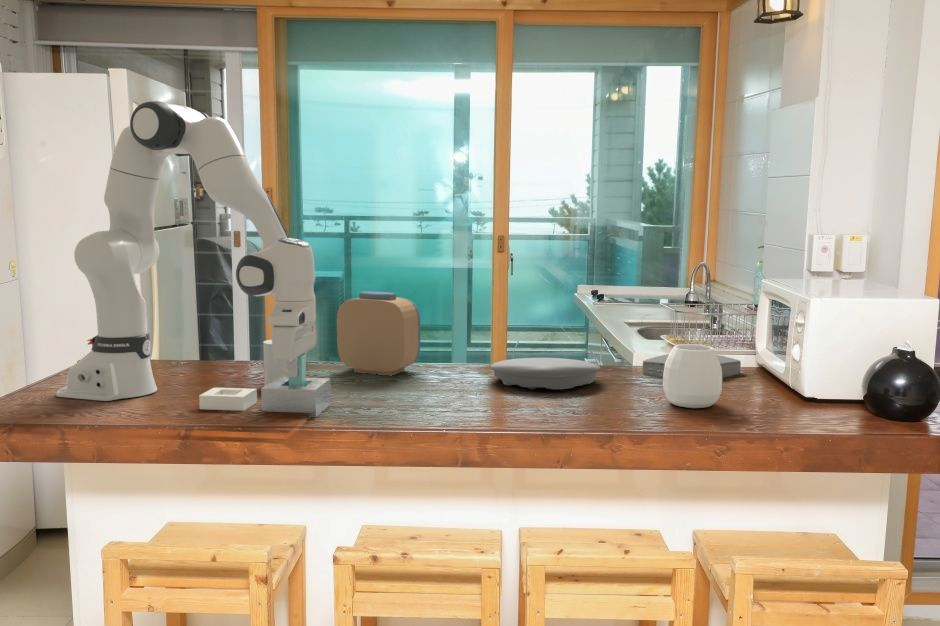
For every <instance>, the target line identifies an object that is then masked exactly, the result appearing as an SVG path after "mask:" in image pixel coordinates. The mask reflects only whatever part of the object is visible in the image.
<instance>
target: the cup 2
mask: <svg viewBox="0 0 940 626" xmlns="http://www.w3.org/2000/svg"><path fill="white" fill-rule="evenodd" d="M668 354H669V355H668V358H667V360H666V363H665V366H664V373H663V378H662V388H663V389H662V390H663V393H664V394H665V398H666V399H667V400H668V401H669V402H670V403H671V404H672V405H675V406H678V407H683V408H688V409H700V408H701V409H703V408H704V409H705V408H709V407H711V406H712V405H714V404H715V403H716V402H718V400H719V398H720V396H721V394H722V391H723V389H722V388H723V378H722V368H721V365H720V362H719V359H718V357H717V355H718V354H717V353H716V351H715V349H714V347H712V346H709V345H704V344H697V343H696V344H693V343H691V344H690V343H688V344H687V343H685V344H682V343H681V344H677V345H674V346H673V347H672V349H671V350H670V352H669V353H668Z"/></svg>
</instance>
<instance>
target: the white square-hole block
mask: <svg viewBox="0 0 940 626" xmlns="http://www.w3.org/2000/svg"><path fill="white" fill-rule="evenodd" d="M257 396H258V392H257V388H245V387H243V388H241V387H212V388H210V389H208V390H207V391H205V392H203V393H201V394H199V395H198V398H199V399H198V400H199V410H209V411H210V410H212V411H213V410H218V411H242V412H243V411H246V410H247V409H249V408H250V407H252V406H253V405H254V404H256V403H257V402H258V397H257Z"/></svg>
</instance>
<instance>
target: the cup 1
mask: <svg viewBox="0 0 940 626" xmlns="http://www.w3.org/2000/svg"><path fill="white" fill-rule="evenodd" d="M263 373H264V374H263V376H264V378H263V379H264V386H266V385H267V384H269V383H271V382H272V381H274V380H275V379H277V378H279V377H289V371H288V366H287V363H286V362H278V361H275V359H274V356H273V349H272V339H267V340H263Z"/></svg>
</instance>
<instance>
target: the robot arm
mask: <svg viewBox="0 0 940 626" xmlns="http://www.w3.org/2000/svg"><path fill="white" fill-rule="evenodd" d="M114 147H115V148H114V150H113V153H112V156H111V161H110V165H109V171H108V175H107V180H106V185H105V186H106V187H105V190H104V195H103V197H104V198H103V201H104V204H105V206H106V207H107V210H108V214H109V230H101V231H100V230H99V231H96V232H93V233H91V234H89V235H87V236H85V237H83V238H82V239H80V240H79V242H77V244H76V246H75V249H74V257H73V258H74V262H75V264H76V266H77V268H78V269H79V271H80V272H81V273H83V275H84V276H85V278H86V279H87V282H88V284H89V287H90V289H91V292H92V295H93V299H94V302H95V303H94V304H95V312H96V313H95V314H96V325H97V334H96V335H95V336H94V337H92V338H89V339H86V340H87V342H88V343H87V346H89V345H91V351H89V352H88V353H87V354H86V355H84V356H83V357H82V358H80V360H78V361H77V362H76V363H74V364H73V365H72V366H70V368H69V370H68V372H67V375H66V376H67V377H66V386H64V387H61V388H59V389H57V391H56V397H58V398H69V399H79V400H90V401H102V402H109V401H114V400H115V401H116V400H121V399H128V398H137V397H142V396H147V395H152V394H153V393H156V392H157V391H158V387H157V385H156V381H155V378H154V375H153V370H152V364H151V338H150V333H149V331H148V312H147V310H148V309H147V302H146V299H145V298H144V297H143V296H142V295H141V293H140V291H139V289H138V285H137V283H136V278H135V275H138V274H142V273H144V272H146V271H147V270H149V269H150V268H152V267H153V266H155V265H156V263H157V262H158V260H159V258H160V252H161V251H160V246H159V243H158V241H157V240H156V238H155V237H156V235H155V222H154V220H155V219H154V217H155V215H154V214H155V205H156V201H157V194H158V191H159V186H160V180H161V176H162V170H163V166H164V163H165V160H166V158H168V157H169V156H171V155H175V156H177V157H186V156H187V157H192V160H193V162H194V165H195V167H196V171H197V174H198V176H199V179H200V181H201V185H202V187H203V189H204V190H205V192H206V194H207V196H208V197H209V198H210V199H211V200H212V201H213V202H215V203H217V204H219V205H220V206H223V207H225V208H228V209H231V210H233V211H236V212H238V213H239V214H241V215H243V216H244V217H246V218H247V219H248V220H249V221H250V222H251V223H252V224H253V225H254V227H255V229H256V231H257V233H258V235H259V238H260V240H261V241H262V244H263V246H264V249H262V250H258V251H255V252H253V253H249V254H247V255H244V256H243V257H241V258H240V260H239V261H238V262H237V265H236V268H235V270H236V271H235V277H236V279H235V280H236V283H237V285H238V287H239V288H240V290H241V291H242V292H243V293H245V295H248V296H253V297H264V296H274V297H273V298H274V305H273V310H272V311H271V313H270V315H269V316H268V325H269V326H271V333H270V334H271V340H272V349H273V356H274V359H275V361H278V362H286V363H287V366H288V369H289V376H290V377H297V376H298V375H299V368H297V361H298V360H297V357H299V356H300V355H302V354H306V357H307V355H308V354H307V352H309V351H311V350H312V349H314V348H315V347H316V346H317V340H318V338H317V325H316V324H317V323H316V321H317V310H316V309H317V305H316V304H317V303H316V300H317V299H316V294H315V289H314V286H315V281H316V268H315V259H314V258H315V257H314V252H313V248H312V246H311V244H310V242H307V241H306V240H304V239H300V238H293V237H290V234H289V232H288V231H287V228H286V226H285V225H284V223H283V220H282V218H281V216H280V214H279V213H278V211H277V208H276V205H274V202H273V201H272V199H271V197H270V195H269V194H268V193H267V191H266V190H265V189H264V188H263V187H262V185H261V184H260V183H259V181H258V179H257V177H256V176H255V174H254V172H253V170H252V168H251V165H250V164H249V162H248V159H247V156H246V154H245V151H244V149H243V147H242V145H241V143H240V141H239V139H238V136H237V135H236V133H235V131H234V129H233V128H232V127H231V125H230V124H229V122H228V121H227V120H226V119H223V118H222V117H217V116H209V115H208V114H206V113H205V112H203V111H202V110H199V109H195V108H194V109H193V108H192V107H189V106H186V105H183V104H177V103H167V102H163V101H156V100H155V101H151V100H150V101H146V102H143V103H140V104H139V105H137V106H136V108H135V109H134V110H133V112H132V114H131V115H130V121H129V125H128V126H126V127H125V128H123V129H122V131H121V133H120V135H119V137H118V140H117V142H116V145H115V146H114Z"/></svg>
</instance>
